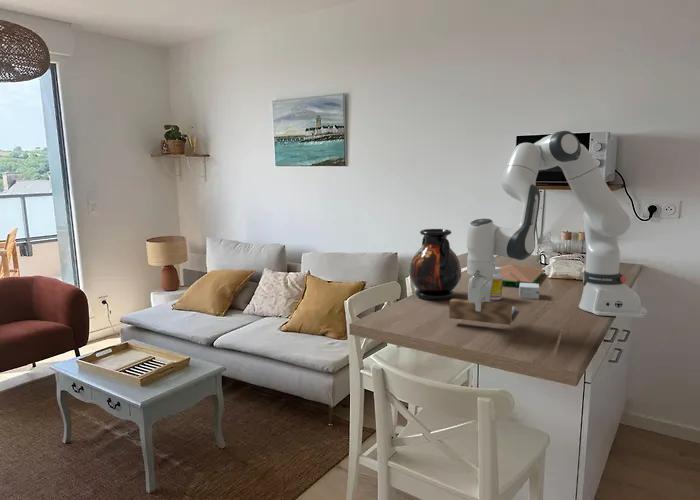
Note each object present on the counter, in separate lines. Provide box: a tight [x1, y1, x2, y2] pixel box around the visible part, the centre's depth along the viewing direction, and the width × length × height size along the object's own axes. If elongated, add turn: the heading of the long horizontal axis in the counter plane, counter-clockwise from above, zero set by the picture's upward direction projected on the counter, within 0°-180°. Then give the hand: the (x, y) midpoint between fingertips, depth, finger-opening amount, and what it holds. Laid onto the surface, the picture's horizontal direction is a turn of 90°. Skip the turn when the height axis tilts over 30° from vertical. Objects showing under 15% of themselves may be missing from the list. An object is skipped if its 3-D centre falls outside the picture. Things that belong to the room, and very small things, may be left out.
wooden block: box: [448, 298, 513, 326], centre depth 164 cm, size 20×4×6 cm, turn 63°
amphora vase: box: [409, 228, 462, 301], centre depth 205 cm, size 22×22×28 cm
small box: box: [518, 282, 540, 300], centre depth 203 cm, size 8×8×5 cm
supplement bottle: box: [490, 266, 503, 301], centre depth 201 cm, size 7×7×13 cm
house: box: [498, 263, 545, 288], centre depth 234 cm, size 23×33×8 cm
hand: (480, 308), depth 164 cm, fingers closed on wooden block, 3 cm apart
